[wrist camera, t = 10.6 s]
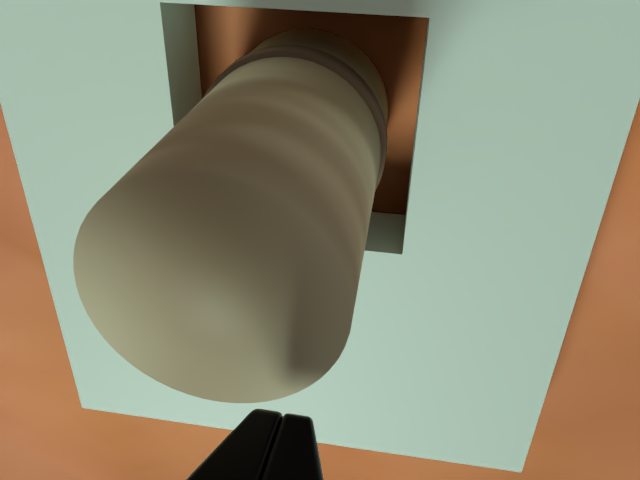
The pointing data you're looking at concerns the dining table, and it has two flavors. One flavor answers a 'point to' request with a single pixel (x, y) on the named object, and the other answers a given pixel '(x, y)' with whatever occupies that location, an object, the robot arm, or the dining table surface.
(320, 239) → the peg
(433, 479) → the dining table surface
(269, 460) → the robot arm
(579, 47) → the board
